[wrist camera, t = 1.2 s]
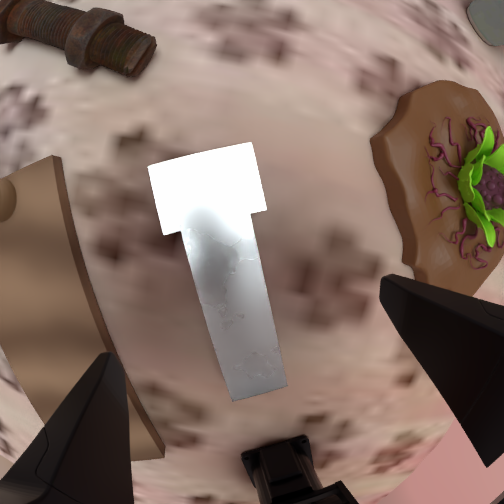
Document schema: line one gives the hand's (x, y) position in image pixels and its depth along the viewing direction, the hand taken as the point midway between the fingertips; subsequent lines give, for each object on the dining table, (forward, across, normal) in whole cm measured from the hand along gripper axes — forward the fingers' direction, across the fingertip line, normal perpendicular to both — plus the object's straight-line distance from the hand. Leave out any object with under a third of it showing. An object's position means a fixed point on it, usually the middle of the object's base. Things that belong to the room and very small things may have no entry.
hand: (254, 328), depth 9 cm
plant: (+12, -23, +2) cm, 26 cm away
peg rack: (+10, +14, +6) cm, 19 cm away
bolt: (+17, +8, -15) cm, 24 cm away
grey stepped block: (+11, 0, +4) cm, 12 cm away
